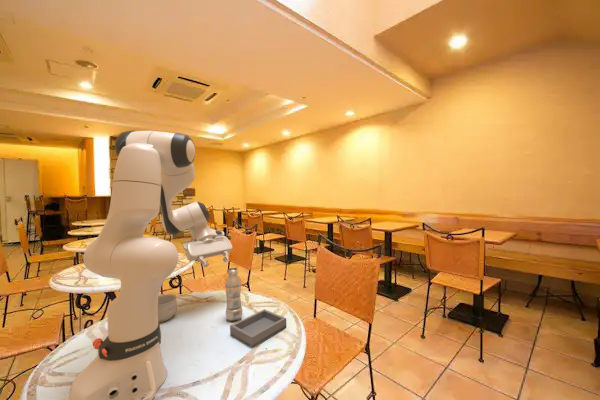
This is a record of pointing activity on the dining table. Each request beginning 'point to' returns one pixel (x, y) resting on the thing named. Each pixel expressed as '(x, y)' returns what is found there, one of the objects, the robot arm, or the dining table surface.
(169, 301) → the teacup
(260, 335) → the tray
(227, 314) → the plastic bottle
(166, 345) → the dining table surface
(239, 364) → the dining table surface
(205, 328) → the dining table surface
